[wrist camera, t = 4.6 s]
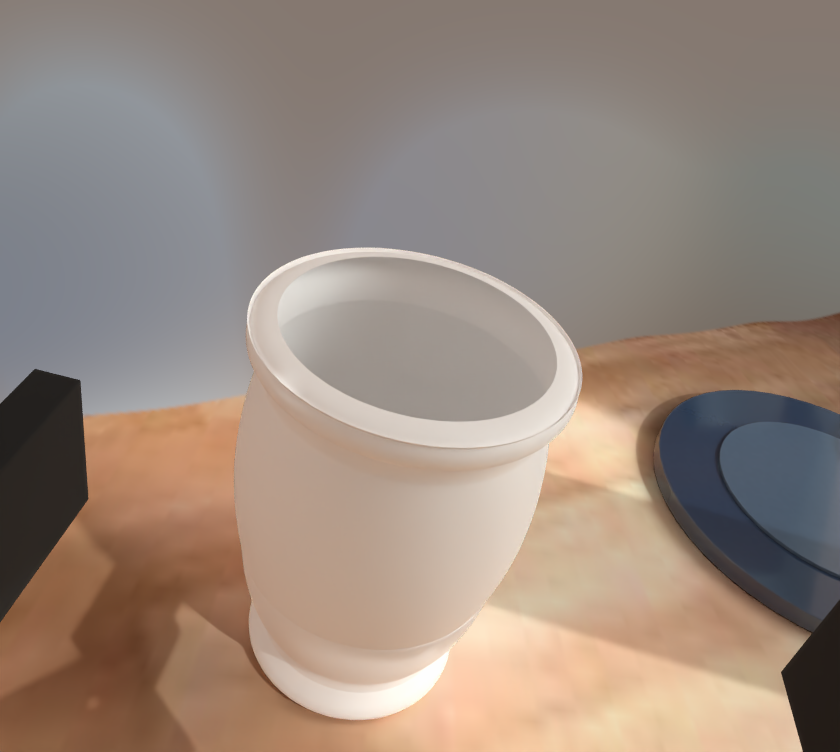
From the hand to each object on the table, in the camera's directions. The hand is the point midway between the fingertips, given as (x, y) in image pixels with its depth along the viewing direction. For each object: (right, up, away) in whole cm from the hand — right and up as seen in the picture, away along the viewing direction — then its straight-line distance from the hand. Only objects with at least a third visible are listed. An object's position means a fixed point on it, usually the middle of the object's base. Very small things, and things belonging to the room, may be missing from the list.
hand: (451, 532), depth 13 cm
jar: (-3, -8, +19) cm, 21 cm away
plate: (+23, -5, +31) cm, 39 cm away
